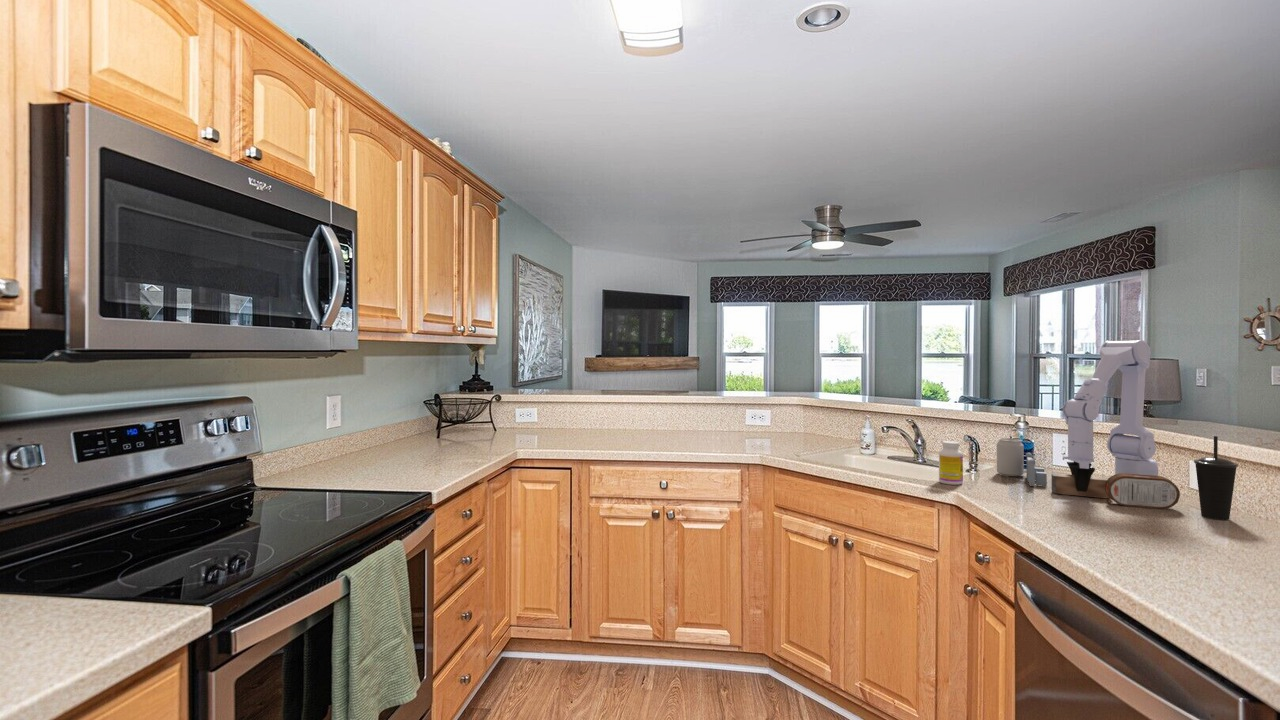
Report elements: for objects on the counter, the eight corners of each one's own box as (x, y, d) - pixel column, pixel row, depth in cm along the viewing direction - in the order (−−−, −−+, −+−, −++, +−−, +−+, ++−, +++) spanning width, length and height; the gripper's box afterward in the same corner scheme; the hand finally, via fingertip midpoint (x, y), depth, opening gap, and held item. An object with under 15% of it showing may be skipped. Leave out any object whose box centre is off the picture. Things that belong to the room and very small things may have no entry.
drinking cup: (1230, 524, 134) (1231, 439, 133) (1187, 515, 140) (1188, 435, 140) (1243, 519, 137) (1243, 437, 137) (1201, 511, 144) (1201, 433, 144)
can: (1029, 477, 183) (1029, 440, 183) (1005, 477, 184) (1005, 440, 183) (1014, 472, 191) (1014, 437, 191) (991, 472, 191) (991, 437, 191)
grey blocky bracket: (1042, 478, 181) (1042, 453, 181) (1047, 488, 169) (1047, 460, 169) (1025, 477, 184) (1025, 451, 183) (1028, 486, 171) (1028, 459, 171)
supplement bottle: (964, 486, 173) (964, 444, 173) (940, 484, 176) (940, 443, 175) (961, 481, 179) (961, 441, 179) (937, 479, 182) (937, 440, 182)
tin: (1176, 508, 147) (1176, 476, 147) (1181, 511, 144) (1182, 478, 144) (1104, 502, 153) (1104, 471, 153) (1107, 505, 151) (1107, 474, 150)
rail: (1108, 495, 159) (1108, 477, 159) (1111, 498, 156) (1111, 480, 156) (1051, 490, 166) (1051, 472, 166) (1053, 493, 163) (1053, 475, 163)
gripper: (1059, 437, 169) (1060, 482, 169) (1066, 444, 157) (1066, 493, 157) (1089, 438, 165) (1089, 485, 166) (1098, 446, 153) (1098, 496, 153)
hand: (1080, 489), depth 161 cm, fingers closed on rail, 4 cm apart
